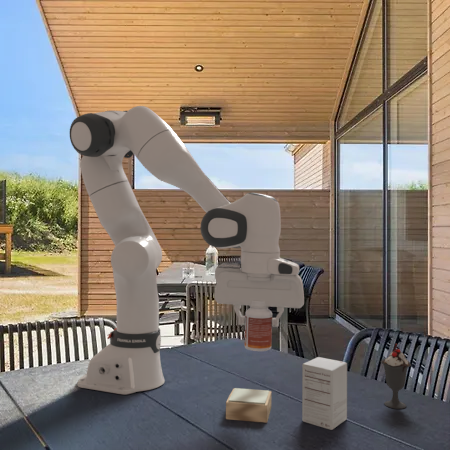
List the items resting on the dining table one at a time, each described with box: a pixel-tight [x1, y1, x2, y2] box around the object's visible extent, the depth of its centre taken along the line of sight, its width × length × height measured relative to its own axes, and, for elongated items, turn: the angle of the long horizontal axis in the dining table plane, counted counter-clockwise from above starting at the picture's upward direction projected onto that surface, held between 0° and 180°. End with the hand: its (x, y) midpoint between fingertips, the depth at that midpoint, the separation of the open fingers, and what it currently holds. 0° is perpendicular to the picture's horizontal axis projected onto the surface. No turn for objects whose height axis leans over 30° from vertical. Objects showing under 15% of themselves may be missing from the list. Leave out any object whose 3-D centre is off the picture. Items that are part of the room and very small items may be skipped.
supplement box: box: [301, 356, 348, 431], centre depth 108 cm, size 7×7×13 cm
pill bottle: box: [244, 301, 273, 352], centre depth 113 cm, size 6×6×11 cm
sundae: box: [380, 343, 412, 410], centre depth 117 cm, size 7×7×15 cm
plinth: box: [225, 387, 273, 424], centre depth 112 cm, size 9×9×4 cm
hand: (258, 325), depth 113 cm, fingers closed on pill bottle, 6 cm apart
